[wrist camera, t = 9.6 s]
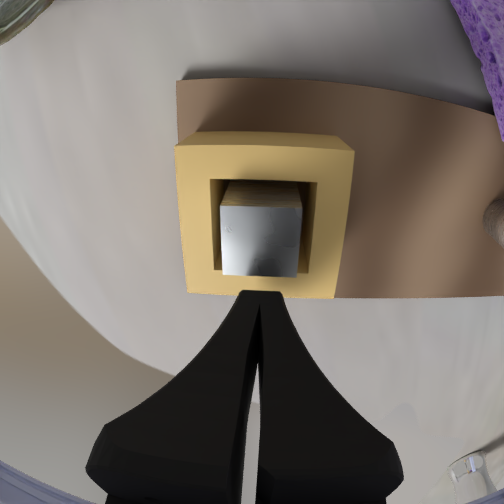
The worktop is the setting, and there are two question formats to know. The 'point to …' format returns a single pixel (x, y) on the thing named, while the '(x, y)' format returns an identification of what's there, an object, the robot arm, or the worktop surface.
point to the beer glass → (471, 478)
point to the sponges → (487, 45)
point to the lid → (18, 16)
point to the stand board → (365, 186)
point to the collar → (263, 168)
